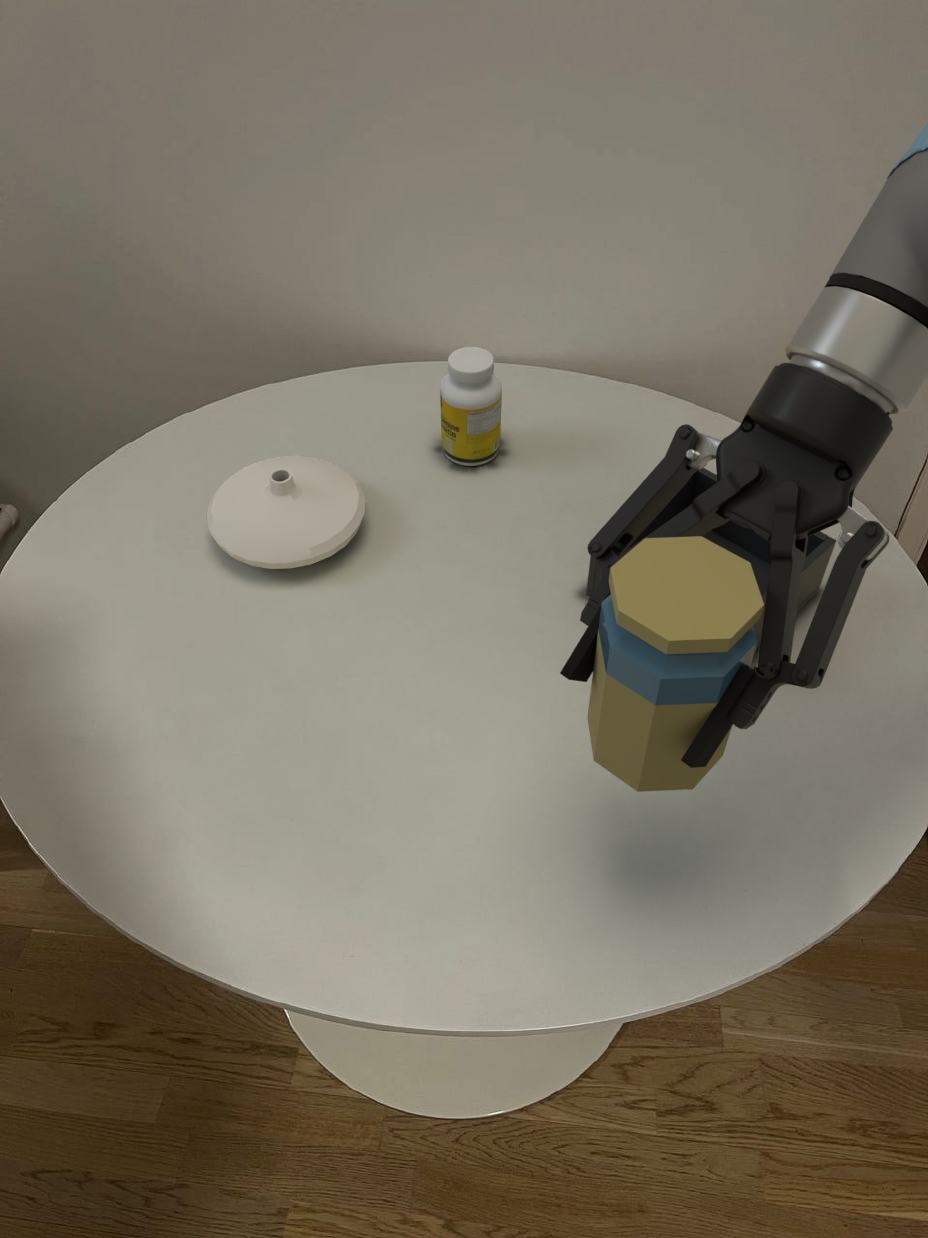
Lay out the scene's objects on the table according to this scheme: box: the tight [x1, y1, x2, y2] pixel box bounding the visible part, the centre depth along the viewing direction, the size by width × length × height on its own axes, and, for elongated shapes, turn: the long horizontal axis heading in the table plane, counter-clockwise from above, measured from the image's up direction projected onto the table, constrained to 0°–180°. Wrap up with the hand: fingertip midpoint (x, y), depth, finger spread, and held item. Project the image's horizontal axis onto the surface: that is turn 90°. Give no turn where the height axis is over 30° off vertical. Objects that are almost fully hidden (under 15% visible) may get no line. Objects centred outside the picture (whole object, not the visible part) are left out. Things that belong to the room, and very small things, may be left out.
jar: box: [586, 536, 764, 793], centre depth 62 cm, size 9×9×15 cm
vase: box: [205, 455, 366, 570], centre depth 100 cm, size 16×16×7 cm
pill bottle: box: [439, 346, 503, 467], centre depth 106 cm, size 6×6×12 cm
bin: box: [585, 467, 837, 652], centre depth 93 cm, size 16×16×7 cm
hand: (631, 719), depth 62 cm, fingers closed on jar, 9 cm apart
